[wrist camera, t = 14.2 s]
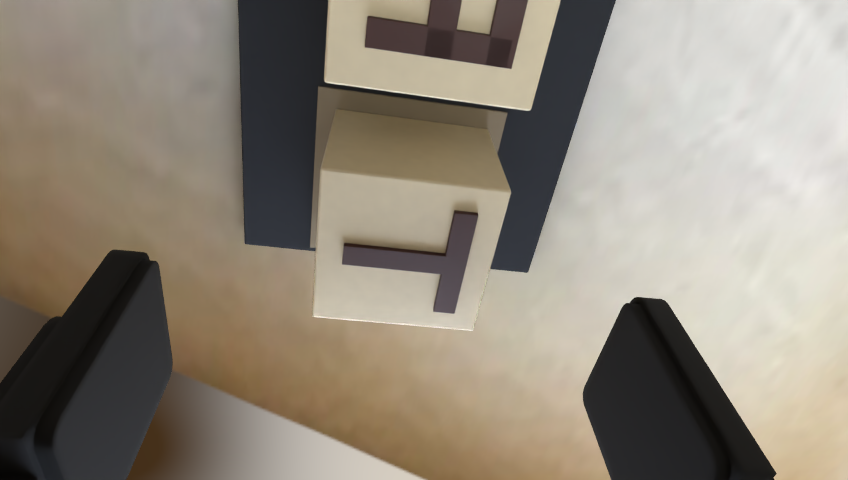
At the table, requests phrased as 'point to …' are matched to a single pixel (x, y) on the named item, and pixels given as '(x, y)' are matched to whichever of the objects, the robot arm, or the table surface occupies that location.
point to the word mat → (317, 102)
